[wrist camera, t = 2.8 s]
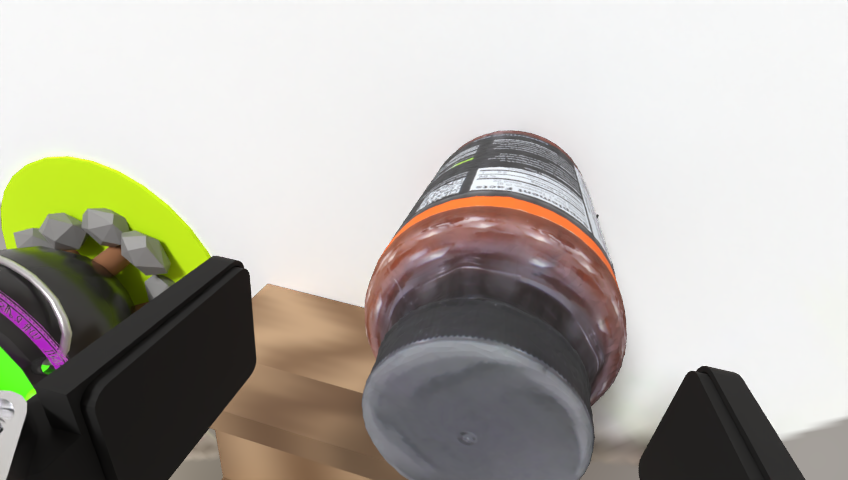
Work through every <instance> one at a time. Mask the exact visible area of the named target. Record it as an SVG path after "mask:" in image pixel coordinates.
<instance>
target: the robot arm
mask: <svg viewBox="0 0 848 480" xmlns="http://www.w3.org/2000/svg"><path fill="white" fill-rule="evenodd" d="M255 366H256V347H255V334H254V322H253V310H252V298H251V286H250V275H249V272H248V270H246V269H244V266H243V264H242V262H240V261H237V260H233V259H229V258H224V257H220V256H213V257H211V258H209V259H208V260H206V261H205V262H203V263H202V264H201V265H199V266H198V267H197V268H195V269H194V270H192V271H191V272H190V273H188V274H187V275H185V276H184V277H183V278H181V279H180V280H179V281H177V282H176V283H174V284H173V285H172V286H170V287H169V288H168V289H166V290H165V291H163V292H162V293H161V294H159V295H158V296H157V297H155V298H154V299H152V300H151V301H150V302H148V303H147V304H145V305H144V306H143V307H141V308H140V309H139V310H137V311H136V312H134V313H133V314H132V315H130V316H129V317H128V318H126V319H125V320H123V321H122V322H121V323H119V324H118V325H117V326H115V327H114V328H112V329H111V330H110V331H108V332H107V333H105V334H104V335H103V336H101V337H100V338H99V339H97V340H96V341H94V342H93V343H92V344H90V345H89V346H88V347H86V348H85V349H83V350H82V351H81V352H79V353H78V354H77V355H75V356H74V357H72V358H71V359H70V360H68V361H67V362H65V363H64V364H63V365H61V366H60V367H59V368H57V369H56V370H54V371H53V372H52V373H50V374H49V375H48V376H46V377H45V378H43V379H42V380H41V381H39V382H38V383H37V384H35V385H34V388H35V390H36V394H35V395H34V396H32V397H31V398H30V399H28V400H27V401H26V400H25V399H24V398H23V396H22V395H20V394H17V393H15V392H12V391H4V390H0V480H168V479H169V478H170V477H171V476H172V474H173V473H174V472H175V471H176V469H177V468H178V467H179V466H180V464H181V463H182V462H183V461H184V459H185V458H186V457H187V455H188V454H189V453H190V452H191V450H192V449H193V448H194V447H195V445H196V444H197V443H198V442H199V440H200V439H201V438H202V437H203V435H204V434H205V433H206V432H207V430H208V429H209V428H210V426H211V425H212V424H213V423H214V421H215V420H216V419H217V418H218V416H219V415H220V414H221V413H222V411H223V410H224V409H225V408H226V406H227V405H228V404H229V402H230V401H231V400H232V399H233V397H234V396H235V395H236V394H237V392H238V391H239V390H240V389H241V387H242V386H243V385H244V384H245V382H246V381H247V380H248V378H249V377H250V376H251V374H252V373H253V371H254V369H255ZM639 478H640V480H805V478H804V477H803V475H802V473H801V472H800V470H799V469H798V467H797V465H796V464H795V462H794V461H793V459H792V458H791V456H790V454H789V453H788V451H787V450H786V448H785V446H784V445H783V443H782V441H781V440H780V438H779V437H778V435H777V433H776V432H775V430H774V428H773V427H772V425H771V424H770V422H769V420H768V419H767V417H766V416H765V414H764V412H763V411H762V409H761V408H760V406H759V404H758V403H757V401H756V400H755V398H754V396H753V395H752V393H751V392H750V390H749V388H748V387H747V385H746V384H745V382H744V380H743V379H742V378H741V376H740V375H739V374H737V373H734V372H730V371H725V370H721V369H717V368H712V367H708V366H701V367H700V368H698V369H697V371H690V372H688V373H687V375H686V376H685V378H684V380H683V381H682V383H681V385H680V387H679V389H678V391H677V392H676V394H675V396H674V398H673V400H672V402H671V403H670V405H669V407H668V409H667V411H666V413H665V414H664V416H663V418H662V420H661V422H660V424H659V425H658V427H657V429H656V431H655V433H654V434H653V436H652V438H651V440H650V442H649V444H648V445H647V447H646V449H645V451H644V453H643V455H642V456H641V459H640V462H639Z"/></svg>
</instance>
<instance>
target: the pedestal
mask: <svg viewBox="0 0 848 480" xmlns="http://www.w3.org/2000/svg"><path fill="white" fill-rule="evenodd" d="M252 310H253V322H254V334H255V347H256V366H255V369H254V371H253V373H252V374H251V376H250V377H249V378H248V380H247V381H246V382H245V384H244V385H243V386H242V387H241V389H240V390H239V391H238V392H237V394H236V395H235V396H234V397H233V399H232V400H231V401H230V402H229V404H228V405H227V406H226V408H225V409H224V410H223V411H222V413H221V414H220V415H219V416H218V418H217V419H216V420H215V421H214V423H213V424H212V425H211V426H210V428H212V429H214V430H215V432H216V438H217V444H218V450H219V455H220V461H221V467H222V473H223V478H222V480H408V479H406V478H405V477H403V476H402V475H400V474H399V473H398V472H397V470H396V469H395V468H394V467H392V466H391V465H390V464H389V463H387V461H386V460H385V459H384V458H383V456H382V455H381V454H380V452H379V451H378V449H377V448H376V446H375V445H374V444H373V442H372V440H371V438H370V436H369V434H368V432H367V430H366V428H365V422H364V418H363V412H362V397H363V391H364V388H365V385H366V381H367V379H368V377H369V375H370V373H371V370H372V368H373V366H374V364H375V362H376V359H375V357H374V354H373V352H372V350H371V347H370V344H369V342H368V338H367V335H366V327H365V308H362V307H358V306H354V305H351V304H347V303H343V302H339V301H335V300H331V299H327V298H323V297H319V296H315V295H311V294H307V293H303V292H299V291H295V290H291V289H287V288H283V287H279V286H275V285H271V284H267V285H266V286H265V287H264V288H263V289H262V290H260V291H259V292H258V293H257V294H256V295H255V296H254V297H253V298H252Z"/></svg>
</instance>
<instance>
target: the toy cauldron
mask: <svg viewBox="0 0 848 480" xmlns="http://www.w3.org/2000/svg"><path fill="white" fill-rule="evenodd" d="M1 224H2V231H3V235H4V239H5V244H6V248H7V249H6V250H0V390H4V391H12V392H15V393H17V394H20V395H22V396H23V398H24V399H25V400H26V401H27V400H28V399H30V398H31V397H32V396H34V395H35V394H36V390H35V388H34V385H35V384H37V383H38V382H39V381H41V380H42V379H43V378H45V377H46V376H48V375H49V374H50V373H52V372H53V371H54V370H56V369H57V368H59V367H60V366H61V365H63V364H64V363H65V362H67V361H68V360H70V359H71V358H72V357H74V356H75V355H77V354H78V353H79V352H81V351H82V350H83V349H85V348H86V347H88V346H89V345H90V344H92V343H93V342H94V341H96V340H97V339H99V338H100V337H101V336H103V335H104V334H105V333H107V332H108V331H110V330H111V329H112V328H114V327H115V326H117V325H118V324H119V323H121V322H122V321H123V320H125V319H126V318H128V317H129V316H130V315H132V314H133V313H134V312H136V311H137V310H139V309H140V308H141V307H143V306H144V305H145V304H147V303H148V302H150V301H151V300H152V299H154V298H155V297H157V296H158V295H159V294H161V293H162V292H163V291H165V290H166V289H168V288H169V287H170V286H172V285H173V284H174V283H176V282H177V281H179V280H180V279H181V278H183V277H184V276H185V275H187V274H188V273H190V272H191V271H192V270H194V269H195V268H197V267H198V266H199V265H201V264H202V263H203V262H205V261H206V260H208V259H209V258H211V257H210V255H209V253H208V251H207V250H206V249H205V247H204V246H203V245H202V243H201V242H200V240H199V239H198V238H197V236H196V235H195V234H194V232H193V231H192V230H191V228H190V227H189V226H188V225H187V224H186V223H185V222H184V221H183V220H182V219H181V218H180V217H179V216H178V215H177V214H176V213H175V212H174V211H173V210H172V209H171V208H170V207H169V206H168V205H167V204H166V203H165V202H163V201H162V200H161V199H160V198H158V197H157V196H156V195H155V194H153V193H152V192H151V191H150V190H148V189H147V188H146V187H145V186H143V185H141V184H139V183H138V182H136V181H134V180H133V179H131V178H129V177H128V176H126V175H124V174H122V173H121V172H119V171H117V170H114V169H112V168H109V167H107V166H104V165H101V164H99V163H96V162H94V161H90V160H85V159H79V158H74V157H69V156H67V157H47V158H44V159H41V160H38V161H35V162H33V163H30V164H27V165H26V166H24V167H23V168H22V169H21V170H20V171H18V172H17V173H16V174H15V175H14V176H12V178H11V180H10V182H9V184H8V185H7V187H6V189H5V191H4V195H3V200H2V205H1Z"/></svg>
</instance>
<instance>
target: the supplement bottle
mask: <svg viewBox="0 0 848 480" xmlns="http://www.w3.org/2000/svg"><path fill="white" fill-rule="evenodd" d="M598 216H599V215H596V214H595V210H594V207H593V204H592V201H591V198H590V195H589V191H588V189H587V187H586V184H585V182H584V180H583V177H582V175H581V173H580V171H579V170H578V168H577V166H576V165H575V163H574V162H573V160H572V159H571V157H569V156H568V154H567V153H566V152H565V151H563V149H561V148H560V147H559V146H557V145H556V144H554V143H553V142H551V141H549V140H547V139H545V138H543V137H540V136H538V135H535V134H532V133H527V132H521V131H497V132H493V133H489V134H485V135H482V136H480V137H477V138H475V139H473V140H472V141H469V142H468V143H466V144H464V145H463V146H462V147H460V148H459V149H458V150H457V151H456V152H455V153H454V154H453V155H452V156H450V157H449V158H448V159H447V160H446V161H445V163H444V164H443V165H442V167H441V168H440V170H439V171H438V173H437V174H436V176H435V177H434V179H433V180H432V181H431V183H430V184H429V185H428V187H427V188H426V190H425V191H424V193H423V195H422V196H421V197H420V199H419V200H418V202H417V203H416V204H415V206H414V207H413V209H412V210H411V212H410V213H409V215H408V217H407V218H406V219H405V221H404V222H403V224H402V225H401V227H400V228H399V230H398V231H397V232H396V234H395V236H394V237H393V239H392V240H391V242H390V243H389V245H388V246H387V247H386V249H385V251H384V252H383V254H382V255H381V257H380V259H379V260H378V263H377V265H376V267H375V270H374V272H373V275H372V277H371V280H370V283H369V286H368V289H367V293H366V299H365V327H366V335H367V338H368V342H369V344H370V347H371V350H372V352H373V354H374V357H375V359H376V362H375V364H374V366H373V368H372V370H371V373H370V375H369V377H368V379H367V381H366V385H365V388H364V391H363V397H362V412H363V418H364V422H365V428H366V430H367V432H368V434H369V436H370V438H371V440H372V442H373V444H374V445H375V446H376V448H377V449H378V451H379V452H380V454H381V455H382V456H383V458H384V459H385V460H386V461H387V463H389V464H390V465H391V466H392V467H394V468H395V469H396V470H397V472H398V473H399V474H400V475H402V476H403V477H405V478H406V479H408V480H579V479H580V478H581V477H582V476H583V475H584V473H585V472H586V469H587V467H588V466H589V464H590V461H591V456H592V452H593V446H594V438H595V436H594V426H593V418H592V410H591V406H592V405H593V404H594V403H595V402H596V401H597V400H598V399H599V398H600V397H602V396H603V395H604V393H605V392H606V391H607V390H608V389H609V388H610V386H611V385H612V383H613V382H614V381H615V378H616V376H617V374H618V372H619V370H620V368H621V365H622V361H623V357H624V355H625V348H626V340H627V333H626V317H625V310H624V306H623V301H622V297H621V294H620V291H619V288H618V284H617V281H616V277H615V272H614V269H613V264H612V262H611V259H610V256H609V253H608V250H607V247H606V244H605V241H604V237H603V234H602V231H601V229H600V226H599V222H598V220H597V219H598Z"/></svg>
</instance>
